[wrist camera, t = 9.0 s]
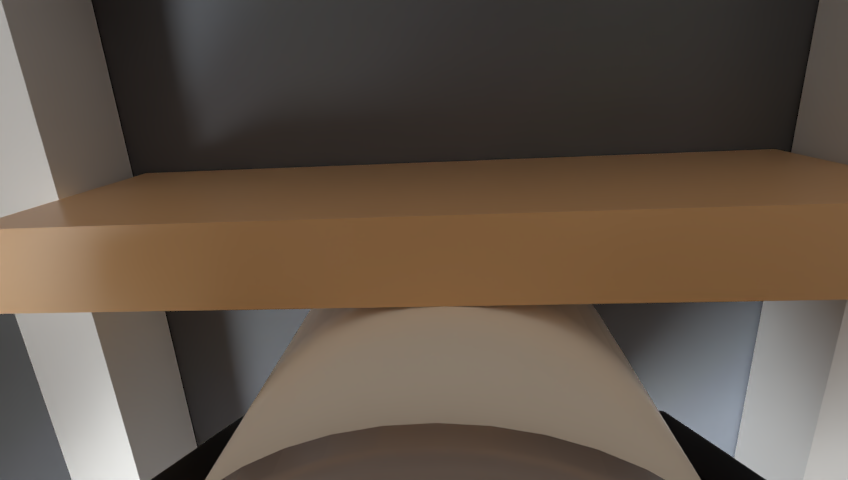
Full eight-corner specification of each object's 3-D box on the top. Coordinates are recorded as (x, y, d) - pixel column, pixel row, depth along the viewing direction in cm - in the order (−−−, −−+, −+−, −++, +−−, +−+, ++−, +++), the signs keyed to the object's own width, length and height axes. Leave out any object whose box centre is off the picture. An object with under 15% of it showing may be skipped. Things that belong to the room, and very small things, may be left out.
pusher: (158, 228, 10) (-10, 313, 7) (146, 172, 10) (-41, 230, 6) (764, 210, 10) (967, 297, 6) (774, 148, 9) (1000, 198, 5)
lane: (207, 684, 15) (124, 885, 11) (-34, -168, 8) (-442, -374, 5) (742, 706, 14) (848, 939, 10) (974, -264, 7) (1557, -647, 3)
